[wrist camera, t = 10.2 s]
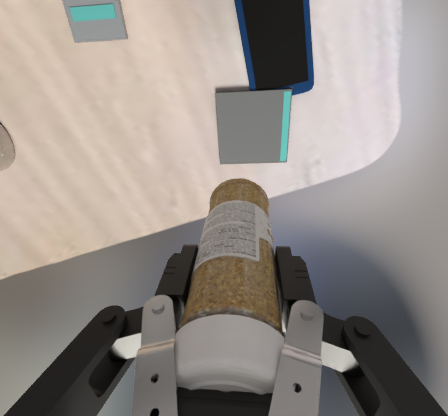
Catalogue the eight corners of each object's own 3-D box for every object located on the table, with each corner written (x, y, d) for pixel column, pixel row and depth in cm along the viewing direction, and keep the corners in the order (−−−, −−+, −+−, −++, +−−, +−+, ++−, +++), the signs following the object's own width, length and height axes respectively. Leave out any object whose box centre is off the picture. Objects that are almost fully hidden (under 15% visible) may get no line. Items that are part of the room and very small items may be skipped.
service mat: (220, 162, 36) (220, 164, 36) (215, 92, 31) (215, 93, 31) (285, 160, 35) (286, 162, 35) (291, 88, 31) (292, 89, 30)
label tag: (77, 42, 30) (74, 42, 29) (60, -14, 27) (57, -16, 26) (128, 39, 29) (126, 38, 29) (116, -19, 27) (113, -21, 26)
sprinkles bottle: (266, 228, 21) (289, 442, 9) (210, 225, 21) (166, 430, 10) (271, 176, 19) (310, 377, 7) (208, 174, 19) (147, 365, 7)
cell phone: (303, -69, 24) (304, -73, 23) (313, 89, 31) (314, 90, 30) (226, -43, 25) (226, -45, 25) (252, 104, 32) (253, 105, 32)
